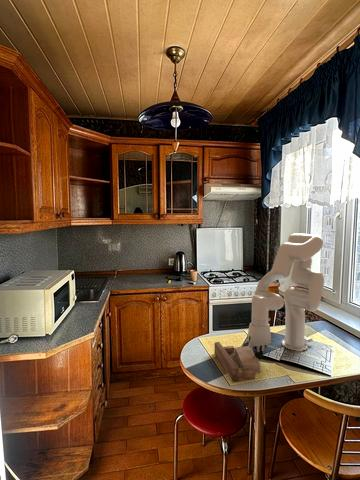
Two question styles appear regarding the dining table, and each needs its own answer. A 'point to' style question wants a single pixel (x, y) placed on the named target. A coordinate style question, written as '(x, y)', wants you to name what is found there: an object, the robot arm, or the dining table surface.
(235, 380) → the block
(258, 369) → the brick
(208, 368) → the dining table surface
